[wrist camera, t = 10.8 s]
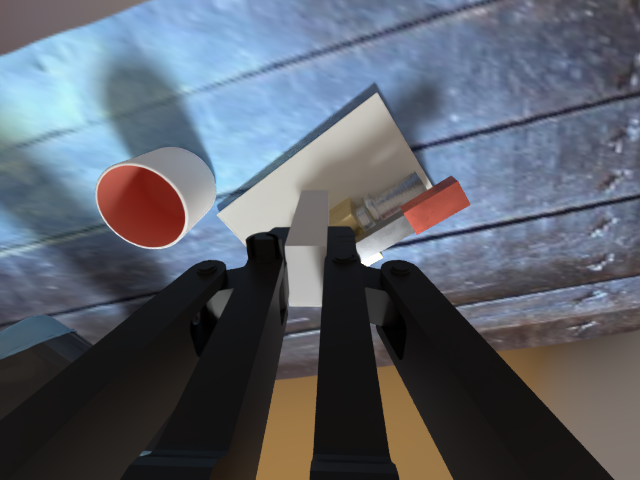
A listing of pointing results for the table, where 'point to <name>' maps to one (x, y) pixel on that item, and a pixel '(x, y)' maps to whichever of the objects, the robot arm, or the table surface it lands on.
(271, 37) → the table surface
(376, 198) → the valve
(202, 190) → the cup
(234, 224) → the board
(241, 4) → the table surface
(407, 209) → the lever
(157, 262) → the table surface
